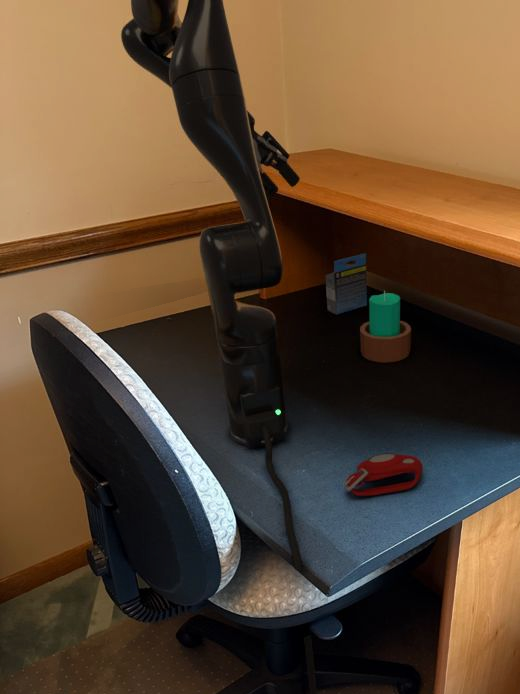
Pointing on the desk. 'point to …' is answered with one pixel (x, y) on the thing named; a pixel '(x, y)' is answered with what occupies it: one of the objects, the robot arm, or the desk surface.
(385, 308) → the candle
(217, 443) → the desk surface
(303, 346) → the desk surface
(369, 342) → the holder
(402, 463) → the tracker holder
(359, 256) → the tape cartridge
